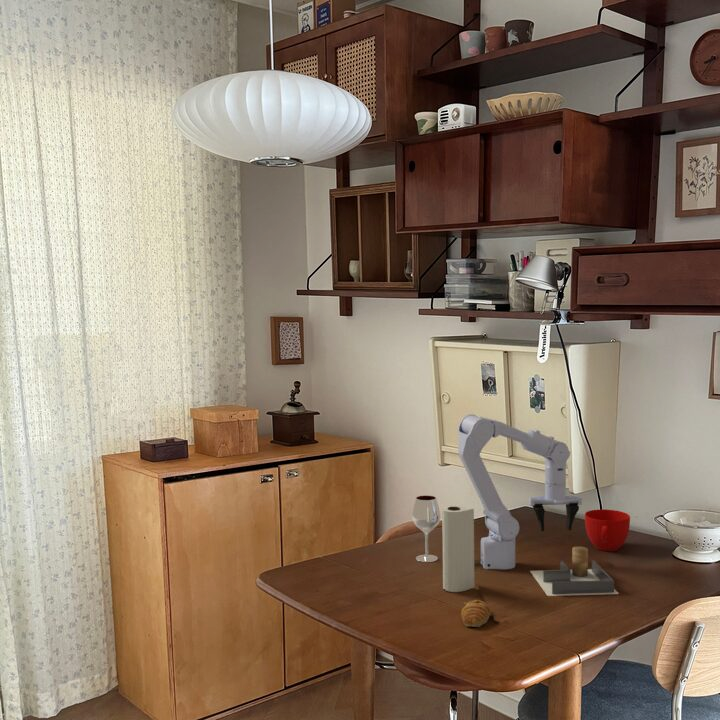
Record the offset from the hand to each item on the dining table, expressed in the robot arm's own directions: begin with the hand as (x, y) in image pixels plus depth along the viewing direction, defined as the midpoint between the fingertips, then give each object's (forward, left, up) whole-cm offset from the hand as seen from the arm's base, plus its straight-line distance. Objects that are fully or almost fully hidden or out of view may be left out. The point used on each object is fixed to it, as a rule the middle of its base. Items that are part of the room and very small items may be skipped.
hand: (555, 529), depth 230 cm
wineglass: (-36, +6, -10) cm, 38 cm away
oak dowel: (+3, -14, -8) cm, 16 cm away
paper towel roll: (-31, -19, -10) cm, 38 cm away
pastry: (-29, -39, -10) cm, 50 cm away
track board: (0, -19, -9) cm, 21 cm away
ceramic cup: (+18, +10, -10) cm, 23 cm away
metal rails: (0, -19, -8) cm, 21 cm away
